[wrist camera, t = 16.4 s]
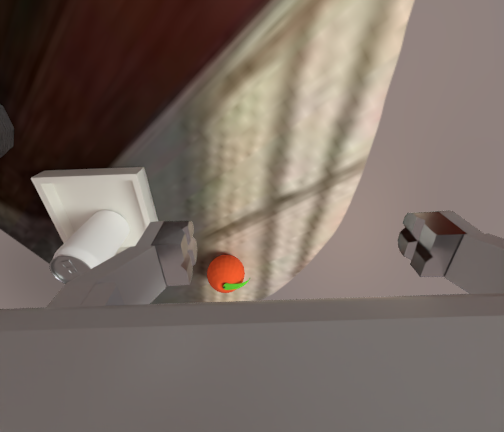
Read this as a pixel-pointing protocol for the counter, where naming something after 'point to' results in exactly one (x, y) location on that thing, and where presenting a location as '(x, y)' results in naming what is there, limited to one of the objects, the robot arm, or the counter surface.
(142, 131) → the counter surface
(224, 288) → the clementine
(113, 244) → the can
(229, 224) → the counter surface
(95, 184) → the tray
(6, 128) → the ring
